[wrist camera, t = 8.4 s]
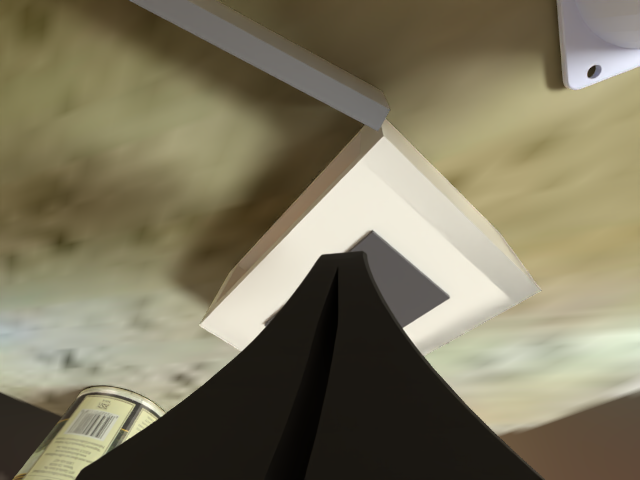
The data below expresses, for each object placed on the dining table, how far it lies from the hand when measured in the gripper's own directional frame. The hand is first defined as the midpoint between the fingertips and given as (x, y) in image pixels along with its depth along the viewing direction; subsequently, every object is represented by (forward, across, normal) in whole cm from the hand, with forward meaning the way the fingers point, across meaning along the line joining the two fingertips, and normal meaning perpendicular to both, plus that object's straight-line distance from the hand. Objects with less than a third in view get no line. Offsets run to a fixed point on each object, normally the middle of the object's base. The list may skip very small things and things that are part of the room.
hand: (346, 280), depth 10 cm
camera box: (+9, +1, +5) cm, 11 cm away
